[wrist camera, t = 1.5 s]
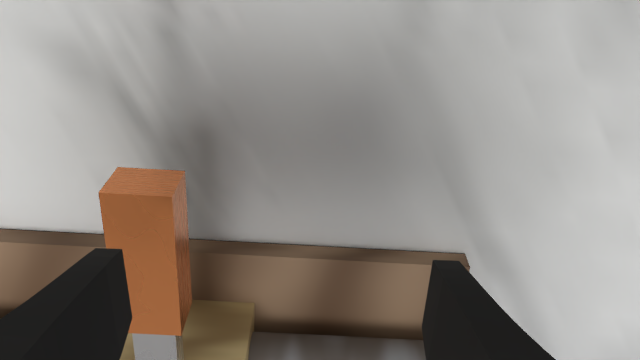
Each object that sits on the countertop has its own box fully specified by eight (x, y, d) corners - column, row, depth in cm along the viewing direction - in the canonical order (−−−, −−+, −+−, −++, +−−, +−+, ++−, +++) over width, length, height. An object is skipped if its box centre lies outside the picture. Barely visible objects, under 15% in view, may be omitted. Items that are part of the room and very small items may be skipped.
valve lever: (207, 455, 23) (200, 493, 21) (143, 452, 23) (130, 490, 21) (194, 171, 17) (182, 197, 15) (107, 166, 17) (87, 192, 15)
